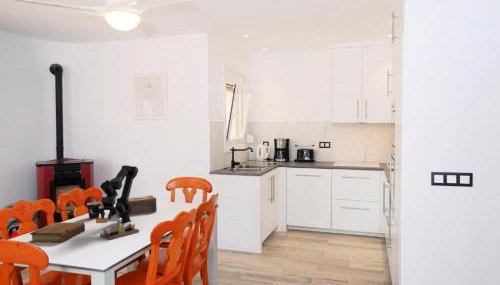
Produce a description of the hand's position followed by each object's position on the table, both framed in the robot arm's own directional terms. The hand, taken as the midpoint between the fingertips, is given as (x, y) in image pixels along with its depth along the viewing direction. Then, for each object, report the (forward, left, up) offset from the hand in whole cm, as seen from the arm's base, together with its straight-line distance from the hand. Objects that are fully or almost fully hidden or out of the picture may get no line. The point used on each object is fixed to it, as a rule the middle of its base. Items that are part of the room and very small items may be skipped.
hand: (104, 221), depth 218 cm
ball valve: (-5, +8, -7) cm, 12 cm away
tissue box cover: (-45, -36, -8) cm, 58 cm away
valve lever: (-1, +3, 0) cm, 3 cm away
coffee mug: (-17, -43, -8) cm, 47 cm away
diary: (+19, -17, -8) cm, 27 cm away
